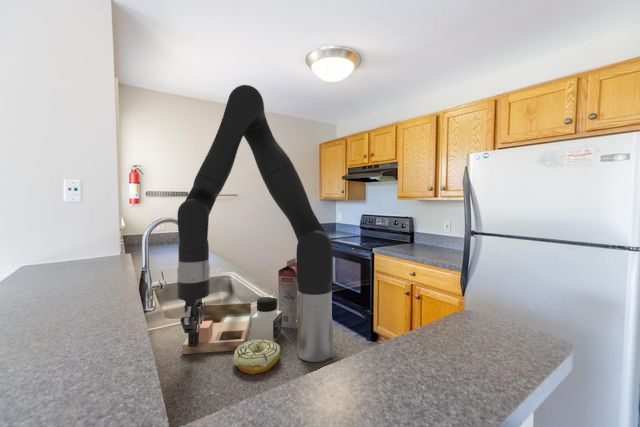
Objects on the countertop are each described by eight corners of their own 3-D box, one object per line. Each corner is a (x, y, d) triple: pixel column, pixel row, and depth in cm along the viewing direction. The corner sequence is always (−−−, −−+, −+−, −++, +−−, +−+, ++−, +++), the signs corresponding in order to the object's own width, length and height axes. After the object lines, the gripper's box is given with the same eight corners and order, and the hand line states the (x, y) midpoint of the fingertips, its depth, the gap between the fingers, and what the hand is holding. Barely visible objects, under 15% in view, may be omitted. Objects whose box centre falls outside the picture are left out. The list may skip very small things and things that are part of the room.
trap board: (250, 319, 99) (250, 302, 99) (244, 349, 77) (244, 328, 77) (203, 321, 96) (203, 304, 96) (182, 354, 75) (182, 331, 74)
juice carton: (278, 326, 93) (278, 260, 93) (286, 318, 99) (287, 257, 99) (296, 328, 91) (296, 261, 91) (304, 321, 97) (304, 258, 97)
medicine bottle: (273, 343, 81) (273, 302, 81) (250, 341, 82) (250, 300, 82) (281, 333, 88) (282, 295, 88) (260, 331, 89) (260, 293, 89)
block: (212, 334, 81) (212, 320, 81) (208, 342, 76) (208, 327, 76) (194, 335, 80) (194, 321, 80) (189, 343, 75) (189, 328, 75)
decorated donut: (225, 374, 66) (225, 357, 66) (244, 350, 77) (244, 335, 77) (272, 378, 64) (271, 360, 64) (284, 352, 76) (284, 337, 76)
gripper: (202, 284, 65) (202, 358, 65) (214, 271, 78) (214, 333, 78) (168, 285, 64) (168, 360, 64) (186, 272, 77) (186, 335, 77)
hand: (193, 345), depth 71 cm, fingers closed
